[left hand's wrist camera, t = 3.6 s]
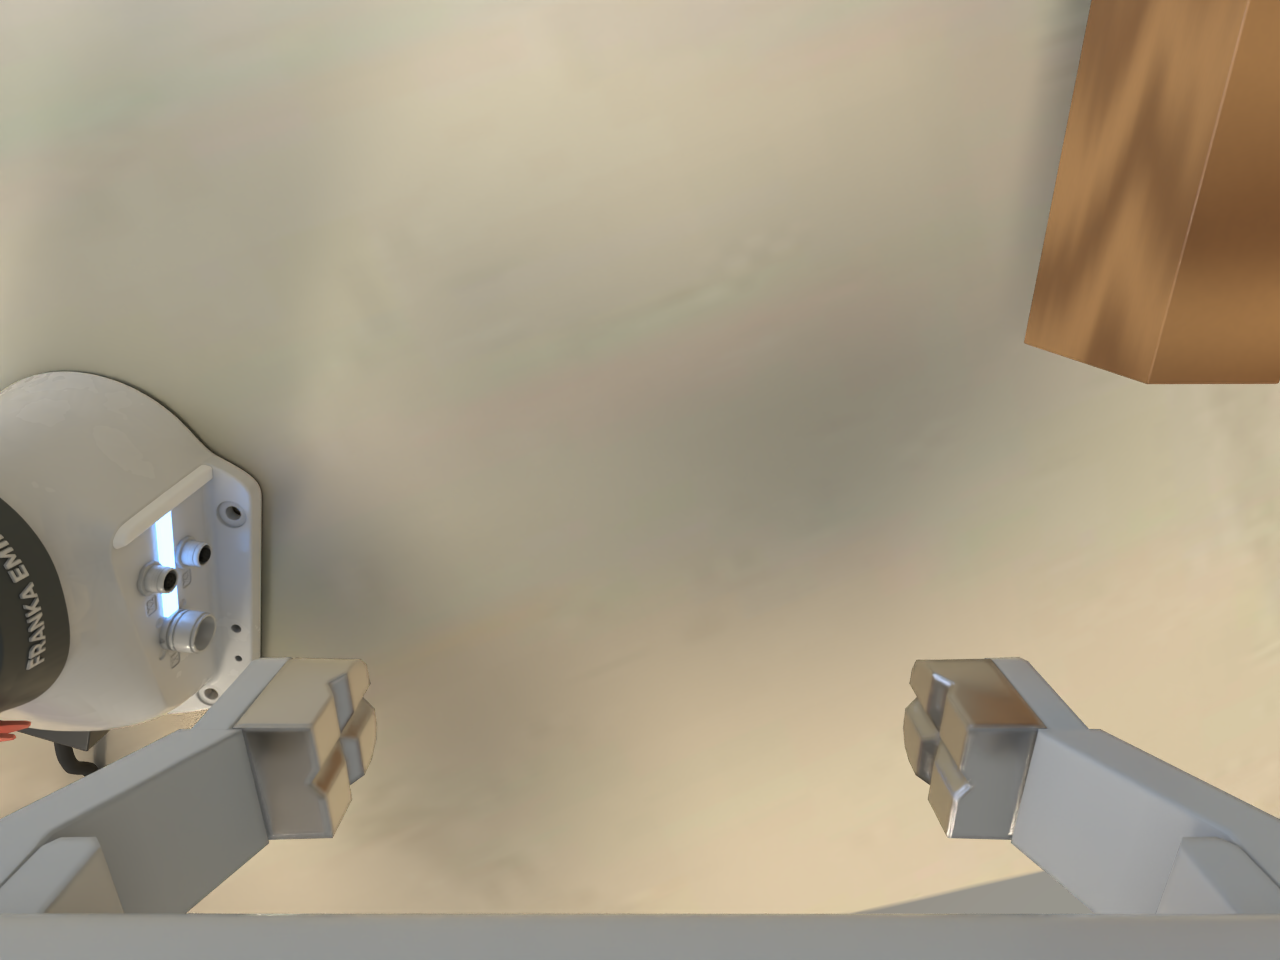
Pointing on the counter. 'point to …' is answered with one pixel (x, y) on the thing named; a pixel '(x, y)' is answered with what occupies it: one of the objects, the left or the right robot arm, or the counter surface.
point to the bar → (1169, 197)
